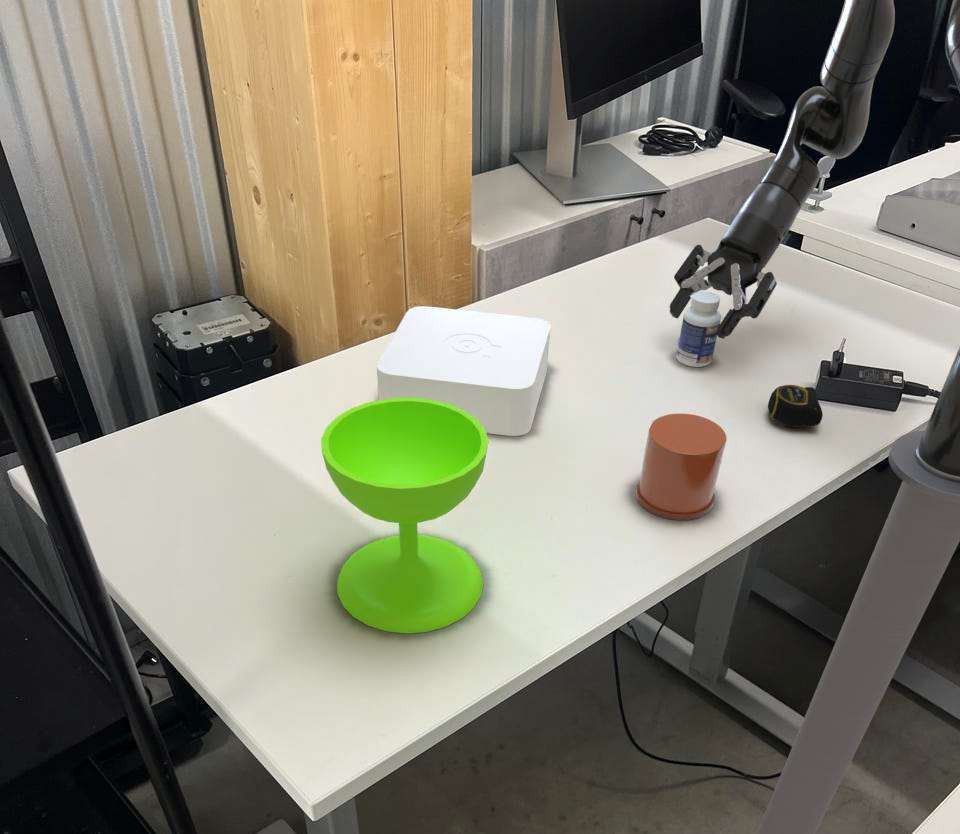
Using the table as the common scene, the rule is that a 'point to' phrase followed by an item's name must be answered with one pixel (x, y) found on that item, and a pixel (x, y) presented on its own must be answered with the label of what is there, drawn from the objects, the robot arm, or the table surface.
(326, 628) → the table surface
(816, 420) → the tape measure
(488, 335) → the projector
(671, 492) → the tumbler
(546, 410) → the table surface
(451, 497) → the wineglass
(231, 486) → the table surface
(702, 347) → the pill bottle
